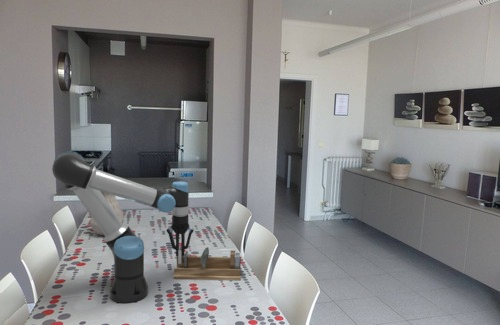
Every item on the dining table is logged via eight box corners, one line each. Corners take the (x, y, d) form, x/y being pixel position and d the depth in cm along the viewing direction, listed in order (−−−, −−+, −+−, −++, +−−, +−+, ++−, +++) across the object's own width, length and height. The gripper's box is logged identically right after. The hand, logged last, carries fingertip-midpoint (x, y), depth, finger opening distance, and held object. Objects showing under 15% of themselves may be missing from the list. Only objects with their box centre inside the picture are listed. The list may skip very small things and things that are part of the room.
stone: (203, 264, 184) (203, 244, 184) (211, 264, 184) (211, 244, 184) (198, 270, 173) (198, 248, 174) (207, 270, 173) (206, 248, 173)
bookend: (186, 273, 177) (186, 255, 176) (179, 273, 177) (180, 254, 176) (187, 269, 182) (188, 251, 181) (181, 268, 182) (181, 251, 181)
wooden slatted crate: (240, 280, 175) (240, 257, 173) (173, 279, 174) (173, 255, 173) (240, 270, 187) (241, 248, 185) (177, 268, 186) (177, 246, 184)
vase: (85, 231, 239) (84, 185, 235) (116, 226, 252) (116, 182, 248) (96, 240, 224) (96, 190, 220) (129, 233, 237) (128, 187, 234)
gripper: (195, 212, 180) (194, 259, 183) (167, 212, 180) (167, 259, 183) (193, 216, 173) (192, 266, 176) (164, 216, 172) (164, 265, 175)
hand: (180, 262), depth 179 cm, fingers closed
